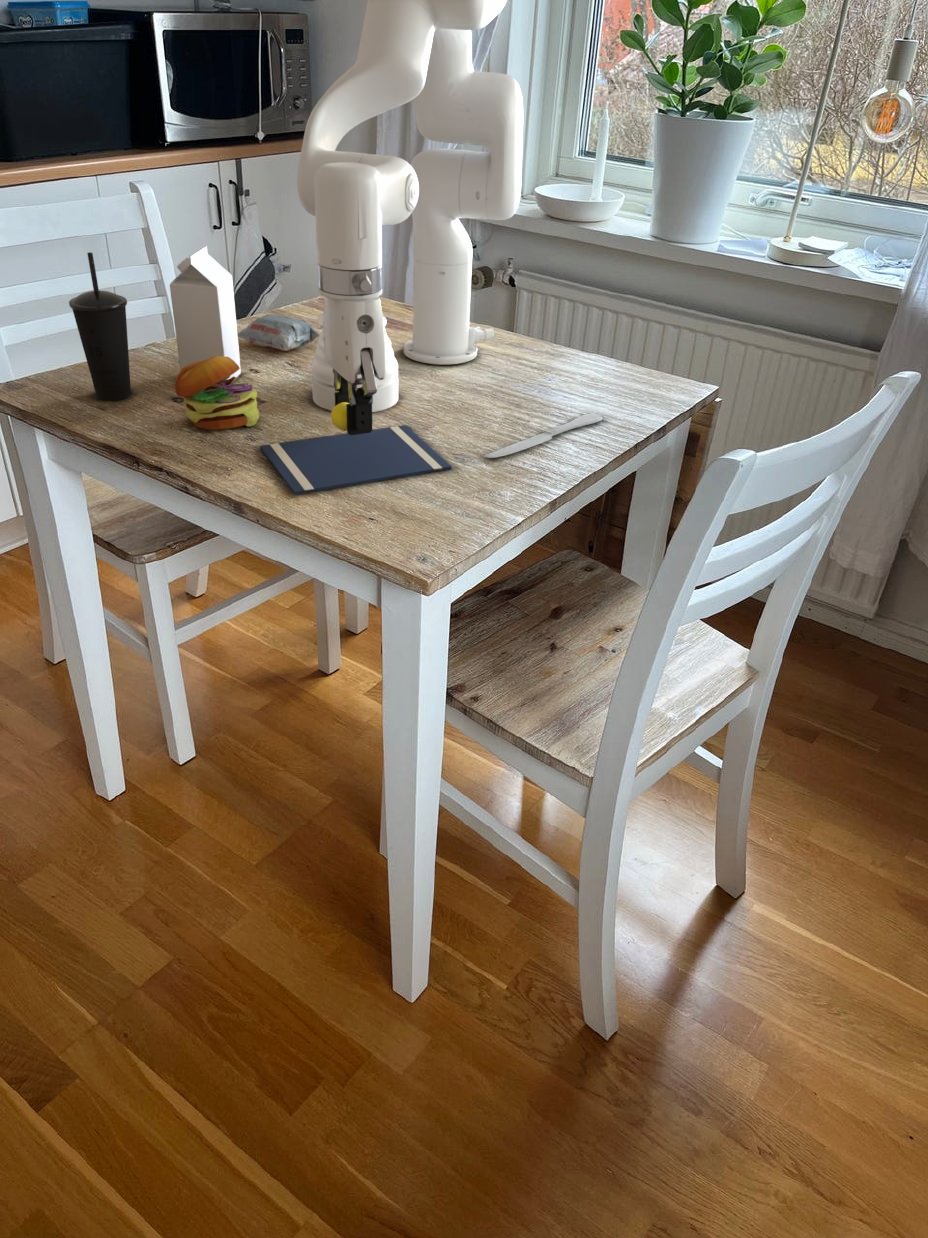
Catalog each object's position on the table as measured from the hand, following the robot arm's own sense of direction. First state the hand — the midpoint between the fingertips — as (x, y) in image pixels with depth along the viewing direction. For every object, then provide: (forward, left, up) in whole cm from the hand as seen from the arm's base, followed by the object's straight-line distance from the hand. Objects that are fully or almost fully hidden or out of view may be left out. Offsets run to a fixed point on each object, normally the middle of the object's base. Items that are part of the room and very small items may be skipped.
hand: (353, 425), depth 121 cm
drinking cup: (+25, -34, -5) cm, 42 cm away
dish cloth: (0, 0, -5) cm, 5 cm away
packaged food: (-4, -48, -5) cm, 48 cm away
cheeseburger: (+13, -19, -5) cm, 24 cm away
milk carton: (+10, -36, -5) cm, 38 cm away
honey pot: (-8, -21, -5) cm, 23 cm away
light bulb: (0, 0, 0) cm, 0 cm away
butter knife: (-27, +3, -5) cm, 28 cm away
